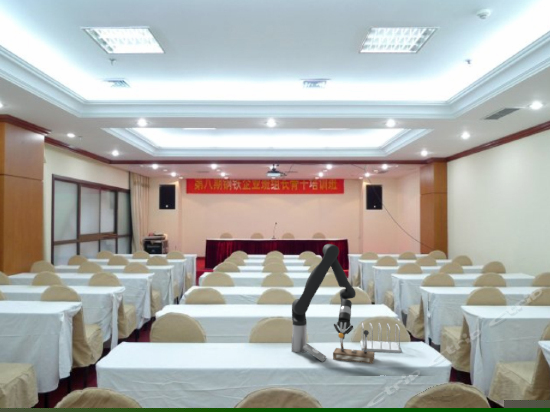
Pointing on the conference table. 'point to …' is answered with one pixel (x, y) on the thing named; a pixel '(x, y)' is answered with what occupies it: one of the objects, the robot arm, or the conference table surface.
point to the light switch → (314, 352)
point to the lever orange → (341, 340)
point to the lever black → (365, 341)
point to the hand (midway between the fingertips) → (341, 339)
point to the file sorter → (380, 345)
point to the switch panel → (353, 355)
